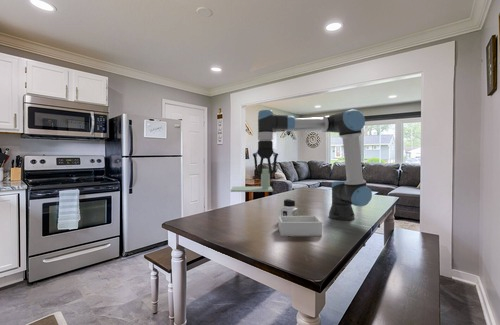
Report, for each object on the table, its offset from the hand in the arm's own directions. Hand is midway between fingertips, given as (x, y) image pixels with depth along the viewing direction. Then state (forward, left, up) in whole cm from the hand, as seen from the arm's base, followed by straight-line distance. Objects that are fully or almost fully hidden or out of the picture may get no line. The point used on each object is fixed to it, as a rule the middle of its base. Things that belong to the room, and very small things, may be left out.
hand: (265, 185), depth 127 cm
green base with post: (+7, 0, -2) cm, 7 cm away
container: (-15, -19, -24) cm, 34 cm away
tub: (-17, +2, -24) cm, 30 cm away
